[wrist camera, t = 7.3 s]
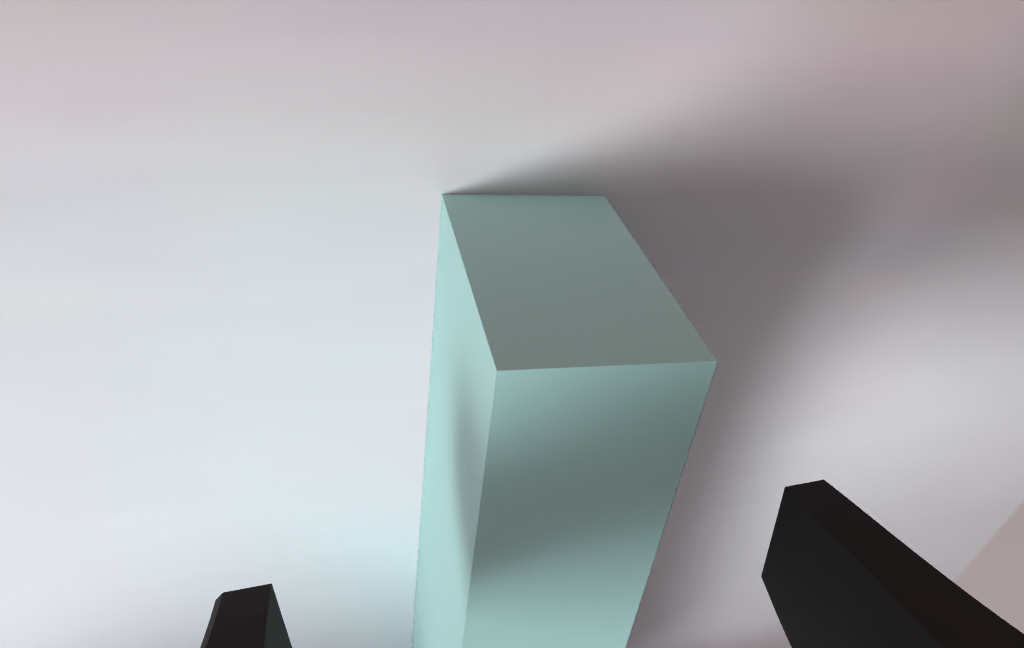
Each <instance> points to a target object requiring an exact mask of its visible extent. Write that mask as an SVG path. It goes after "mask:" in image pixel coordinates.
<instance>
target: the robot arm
mask: <svg viewBox="0 0 1024 648" xmlns="http://www.w3.org/2000/svg"><path fill="white" fill-rule="evenodd" d="M761 577H762V579H763V582H764V584H765V586H766V589H767V591H768V594H769V596H770V599H771V601H772V604H773V606H774V608H775V611H776V613H777V616H778V618H779V620H780V622H781V625H782V627H783V629H784V631H785V634H786V636H787V638H788V640H789V643H790V645H791V647H792V648H1024V634H1023V633H1021V632H1020V631H1019V630H1017V629H1016V628H1014V627H1013V626H1011V625H1010V624H1009V623H1007V622H1006V621H1005V620H1003V619H1002V618H1000V617H999V616H997V615H996V614H995V613H994V612H992V611H991V610H990V609H988V608H987V607H985V606H984V605H982V604H981V603H980V602H979V601H977V600H976V599H974V598H973V597H972V596H971V595H969V594H968V593H967V592H965V591H964V590H963V589H961V588H960V587H959V586H957V585H956V584H955V583H954V582H952V581H951V580H950V579H948V578H947V577H946V576H944V575H943V574H942V573H940V572H939V571H938V570H937V569H935V568H934V567H933V566H932V565H930V564H929V563H928V562H926V561H925V560H924V559H923V558H921V557H920V556H919V555H917V554H916V553H915V552H914V551H912V550H911V549H910V548H909V547H907V546H906V545H905V544H904V543H902V542H901V541H900V540H899V539H897V538H896V537H895V536H894V535H892V534H891V533H890V532H889V531H887V530H886V529H885V528H884V527H882V526H881V525H880V524H879V523H877V522H876V521H875V520H874V519H872V518H871V517H870V516H869V515H868V514H866V513H865V512H864V511H863V510H861V509H860V508H859V507H858V506H856V505H855V504H854V503H853V502H851V501H850V500H849V499H848V498H846V497H845V496H844V495H843V494H841V493H840V492H839V491H838V490H836V489H835V488H834V487H833V486H831V485H830V484H829V483H827V482H826V481H825V480H819V481H814V482H809V483H804V484H798V485H793V486H788V487H785V489H784V493H783V497H782V500H781V504H780V508H779V512H778V516H777V519H776V523H775V527H774V531H773V534H772V538H771V542H770V546H769V549H768V553H767V557H766V561H765V564H764V568H763V572H762V576H761ZM201 648H292V646H291V643H290V640H289V637H288V633H287V630H286V627H285V624H284V621H283V618H282V615H281V611H280V608H279V605H278V602H277V599H276V596H275V593H274V589H273V586H272V584H267V585H261V586H256V587H251V588H245V589H240V590H235V591H229V592H224V593H222V594H221V595H220V596H219V597H218V598H217V599H216V601H215V605H214V608H213V611H212V614H211V618H210V621H209V624H208V627H207V630H206V633H205V636H204V639H203V642H202V645H201Z"/></svg>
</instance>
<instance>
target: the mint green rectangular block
mask: <svg viewBox="0 0 1024 648" xmlns="http://www.w3.org/2000/svg"><path fill="white" fill-rule="evenodd" d="M717 362H718V361H717V359H716V358H715V356H714V355H713V353H712V352H711V350H710V349H709V347H708V346H707V344H706V343H705V341H704V340H703V339H702V337H701V336H700V334H699V333H698V331H697V330H696V328H695V327H694V325H693V324H692V322H691V321H690V320H689V318H688V317H687V315H686V314H685V312H684V311H683V309H682V308H681V306H680V305H679V303H678V302H677V301H676V299H675V298H674V296H673V295H672V293H671V292H670V290H669V289H668V287H667V286H666V284H665V283H664V282H663V280H662V279H661V277H660V276H659V274H658V273H657V271H656V270H655V268H654V267H653V265H652V264H651V262H650V261H649V260H648V258H647V257H646V255H645V254H644V252H643V251H642V249H641V248H640V246H639V245H638V243H637V242H636V241H635V239H634V238H633V236H632V235H631V233H630V232H629V230H628V229H627V227H626V226H625V224H624V223H623V222H622V220H621V219H620V217H619V216H618V214H617V213H616V211H615V210H614V208H613V207H612V205H611V204H610V203H609V201H608V200H607V198H606V197H605V196H583V195H470V194H442V199H441V214H440V229H439V245H438V260H437V275H436V290H435V305H434V321H433V336H432V351H431V366H430V381H429V397H428V412H427V427H426V442H425V457H424V473H423V488H422V503H421V518H420V533H419V549H418V564H417V579H416V594H415V610H414V625H413V640H412V648H626V645H627V642H628V638H629V635H630V632H631V629H632V626H633V623H634V620H635V617H636V614H637V611H638V607H639V604H640V601H641V598H642V595H643V592H644V589H645V586H646V583H647V580H648V576H649V573H650V570H651V567H652V564H653V561H654V558H655V555H656V552H657V548H658V545H659V542H660V539H661V536H662V533H663V530H664V527H665V524H666V521H667V517H668V514H669V511H670V508H671V505H672V502H673V499H674V496H675V493H676V490H677V486H678V483H679V480H680V477H681V474H682V471H683V468H684V465H685V462H686V459H687V455H688V452H689V449H690V446H691V443H692V440H693V437H694V434H695V431H696V428H697V424H698V421H699V418H700V415H701V412H702V409H703V406H704V403H705V400H706V396H707V393H708V390H709V387H710V384H711V381H712V378H713V375H714V372H715V369H716V365H717Z"/></svg>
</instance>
